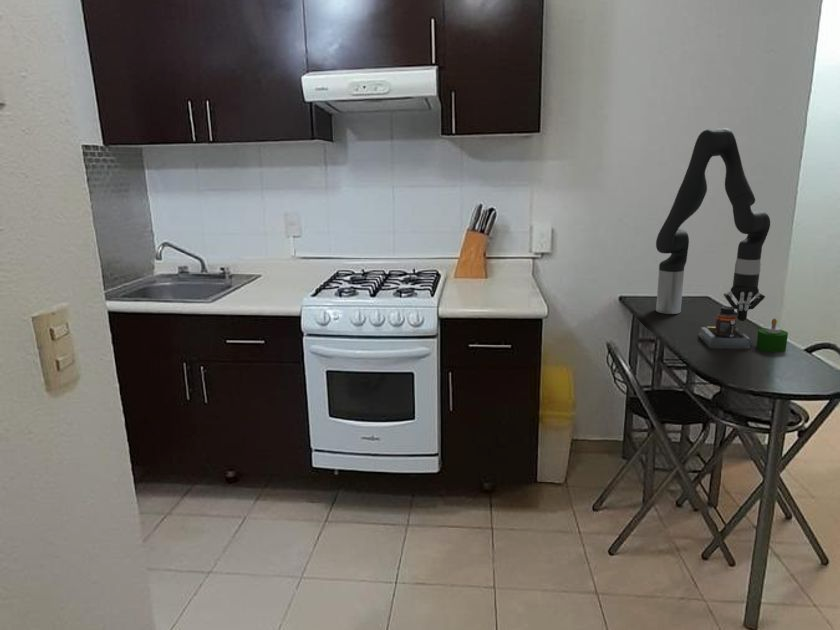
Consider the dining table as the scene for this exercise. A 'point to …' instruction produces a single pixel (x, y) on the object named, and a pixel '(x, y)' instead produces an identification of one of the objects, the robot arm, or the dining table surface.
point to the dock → (725, 340)
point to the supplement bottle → (726, 322)
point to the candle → (772, 338)
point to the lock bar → (711, 329)
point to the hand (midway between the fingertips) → (740, 320)
